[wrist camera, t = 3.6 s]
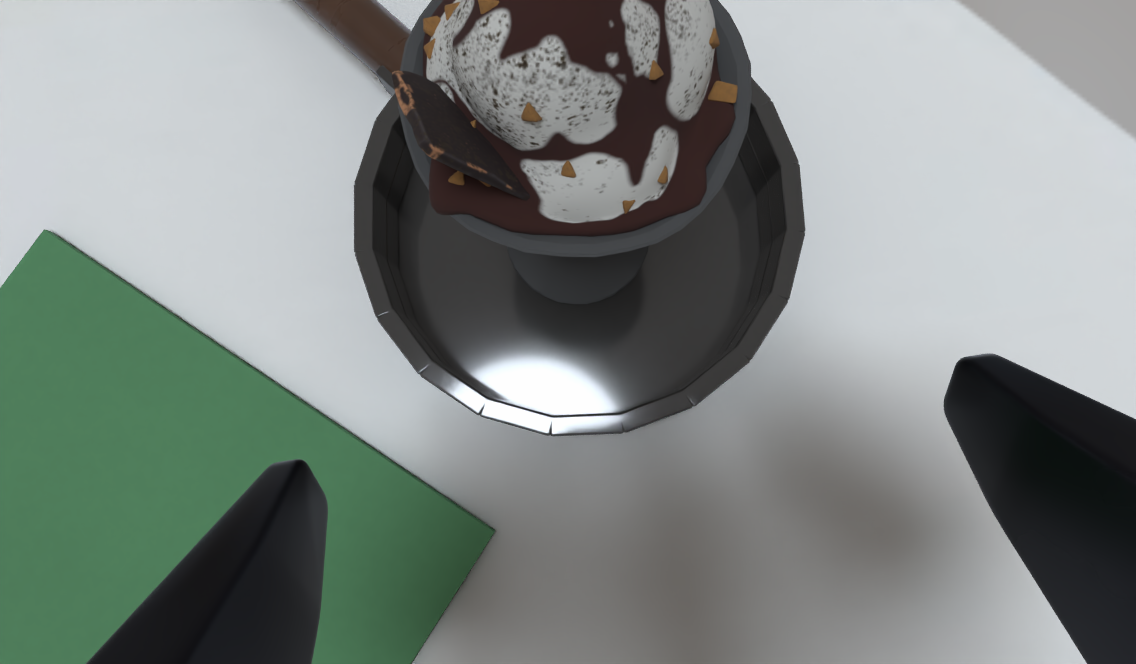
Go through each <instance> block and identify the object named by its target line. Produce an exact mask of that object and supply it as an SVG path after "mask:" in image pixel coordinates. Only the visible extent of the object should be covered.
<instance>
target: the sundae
mask: <svg viewBox="0 0 1136 664" xmlns="http://www.w3.org/2000/svg"><path fill="white" fill-rule="evenodd" d="M392 80H393V85H394V89H395V93H396V96H397V99H398V109H399V113H400V117H401V122H402V126H403V131H404V135H405V140H406V143H407V146H408V149H409V151H410V154H411V157H412V160H413V163H414V166H415V168H416V170H417V172H418V174H419V175H420V177H421V179H422V180H423V182H424V184H425V185H426V187H427V189H428V190H429V199H430V203H431V206H432V208H433V209H434V210H435V211H436V213H438V214H441V215H450V216H451V217H453V218H454V219H455V220H456V221H458V222H459V223H460V224H461V225H463V226H464V227H465V228H467V229H468V230H469V231H472V232H474V233H476V234H478V235H480V236H482V237H485V238H487V239H489V240H491V241H493V242H496V243H499V244H502V245H505V246H507V249H508V253H509V257H510V259H511V262H512V264H513V267H514V269H515V270H516V271H517V273H518V274H519V275H520V277H521V278H522V279H523V280H524V281H525V282H526V283H527V285H528V286H529V287H530V288H531V289H532V290H534V291H536V292H538V293H539V294H541V295H543V296H544V297H547V298H549V299H551V300H554V301H556V302H560V303H568V304H589V303H593V302H597V301H601V300H603V299H606V298H608V297H611V296H613V295H615V294H616V293H617V292H619V291H620V290H621V289H623V288H624V287H625V286H626V285H627V284H628V283H629V282H630V281H632V280H633V279H634V278H635V276H636V275H637V273H638V271H639V270H640V268H641V266H642V264H643V262H644V259H645V257H646V255H647V252H648V246H649V245H652V244H656V243H658V242H660V241H662V240H664V239H665V238H667V237H669V236H671V235H673V234H674V233H676V232H678V231H680V230H682V229H683V228H684V227H685V226H686V225H687V224H689V223H690V222H691V221H692V220H693V219H694V218H696V217H697V216H698V215H699V214H700V213H701V212H702V211H703V210H704V209H705V208H706V206H707V205H708V204H709V203H710V202H711V200H712V199H713V198H714V197H715V195H716V194H717V193H718V192H719V191H720V189H721V188H722V186H723V184H724V182H725V180H726V178H727V176H728V174H729V172H730V170H731V168H732V166H733V165H734V163H735V160H736V158H737V155H738V153H739V150H740V147H741V145H742V142H743V140H744V137H745V134H746V132H747V129H748V122H749V114H750V105H751V97H752V90H751V63H750V60H749V57H748V55H747V52H746V49H745V46H744V43H743V40H742V37H741V35H740V33H739V31H738V29H737V27H736V25H735V23H734V22H733V20H732V18H731V16H730V14H729V13H728V12H727V10H726V9H725V8H724V7H723V6H722V5H721V3H720V2H719V1H718V0H432V1H431V2H430V3H429V5H428V6H427V7H426V9H425V10H424V11H423V13H422V14H421V15H420V17H419V19H418V20H417V22H416V24H415V26H414V28H413V30H412V31H411V33H410V35H409V37H408V39H407V41H406V43H405V47H404V52H403V57H402V62H401V67H400V71H394V72H392Z"/></svg>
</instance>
